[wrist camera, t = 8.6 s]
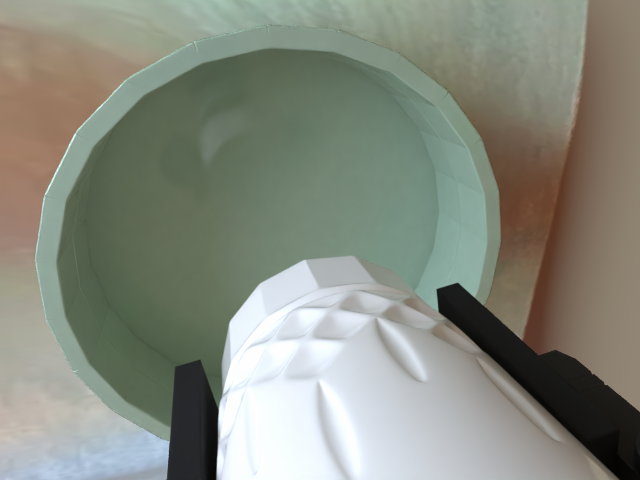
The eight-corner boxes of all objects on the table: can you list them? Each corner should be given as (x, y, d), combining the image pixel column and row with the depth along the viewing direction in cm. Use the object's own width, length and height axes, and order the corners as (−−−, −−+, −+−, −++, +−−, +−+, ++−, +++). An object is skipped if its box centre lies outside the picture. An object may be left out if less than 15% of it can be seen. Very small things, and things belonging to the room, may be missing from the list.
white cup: (477, 281, 16) (828, 577, 7) (370, 458, 18) (542, 866, 9) (264, 196, 13) (405, 508, 4) (165, 416, 15) (119, 950, 6)
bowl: (42, 15, 21) (-13, 5, 15) (469, 43, 26) (543, 43, 20) (97, 399, 28) (74, 483, 23) (419, 364, 33) (463, 427, 28)
